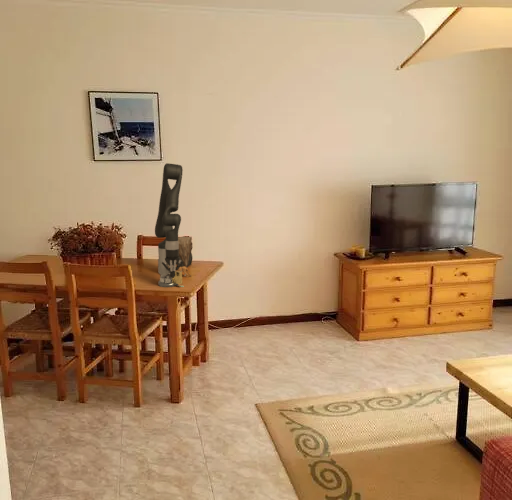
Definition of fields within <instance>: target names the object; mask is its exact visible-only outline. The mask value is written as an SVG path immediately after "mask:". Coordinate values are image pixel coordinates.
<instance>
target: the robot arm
mask: <svg viewBox="0 0 512 500" xmlns="http://www.w3.org/2000/svg"><path fill="white" fill-rule="evenodd" d="M183 171H184V170H183V165H180V164H177V163H176V164H175V163H165V164H164V167H163V173H162V184H161V185H162V186H161V191H160V197H159V202H158V203H159V204H158V213H157V218H156V222H155V227H154V236H155V237H156V238H158V239H161V238H164V239H163V240H162V241H161V242H159V243H157V249H158V251H157V252H158V259H157V271H158V275H167V273H170V276H171V278H174V276H175V271H176V270H178V269H179V268H180V267H181V265H182V264H183V261H181V260H180V258H179V243H178V237H179V230H180V226H181V222H182V217H181V215H180V214H179V213H175V212H178V210H179V203H180V199H179V198H180V191H181V186H182V178H183ZM169 180H173V181H175V184H174V185H173V187H172V188H171V187H170V183H169ZM178 262H179V264H178V265H177V267H176V264H177V263H178ZM168 265H169V268H168ZM172 265H173V269H172Z"/></svg>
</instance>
